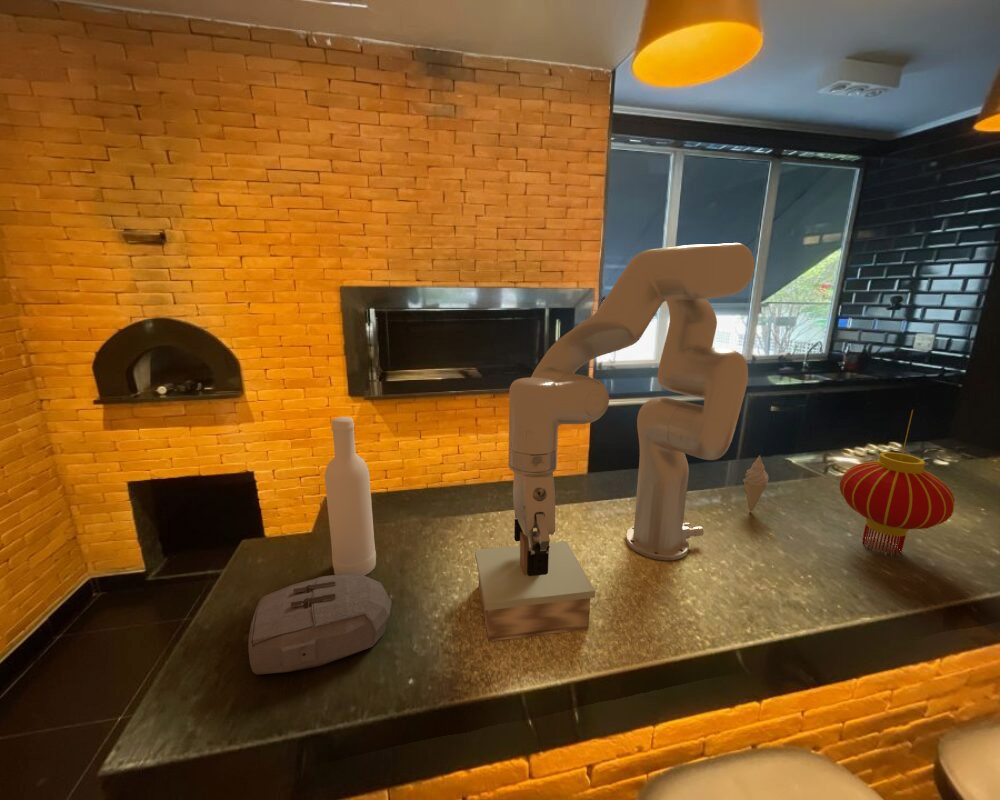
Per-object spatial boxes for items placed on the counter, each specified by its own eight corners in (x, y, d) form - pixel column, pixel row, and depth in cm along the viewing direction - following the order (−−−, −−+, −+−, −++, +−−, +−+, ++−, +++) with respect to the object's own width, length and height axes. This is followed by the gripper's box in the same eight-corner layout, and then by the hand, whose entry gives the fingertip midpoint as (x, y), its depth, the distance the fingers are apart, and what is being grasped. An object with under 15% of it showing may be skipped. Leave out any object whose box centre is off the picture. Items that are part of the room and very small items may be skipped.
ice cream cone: (767, 517, 101) (776, 458, 98) (745, 517, 101) (754, 458, 98) (755, 507, 106) (763, 451, 103) (734, 507, 106) (742, 451, 103)
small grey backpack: (243, 697, 56) (398, 654, 62) (234, 644, 54) (395, 606, 60) (262, 618, 69) (388, 590, 76) (255, 574, 67) (385, 549, 74)
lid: (566, 551, 79) (567, 511, 77) (594, 603, 65) (597, 556, 64) (475, 560, 76) (474, 519, 74) (485, 616, 63) (485, 567, 61)
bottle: (332, 560, 84) (318, 415, 78) (373, 551, 87) (362, 411, 81) (334, 585, 77) (318, 427, 70) (379, 574, 80) (367, 422, 73)
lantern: (847, 519, 101) (873, 396, 94) (950, 555, 86) (989, 413, 80) (815, 540, 92) (841, 406, 85) (924, 584, 78) (965, 427, 71)
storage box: (563, 577, 79) (564, 548, 78) (588, 628, 67) (590, 595, 66) (478, 586, 77) (478, 557, 76) (488, 641, 64) (488, 607, 63)
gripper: (574, 478, 58) (568, 587, 62) (541, 439, 75) (538, 527, 79) (520, 481, 57) (518, 593, 61) (499, 441, 74) (498, 530, 77)
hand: (529, 555), depth 70 cm, fingers open, 9 cm apart
